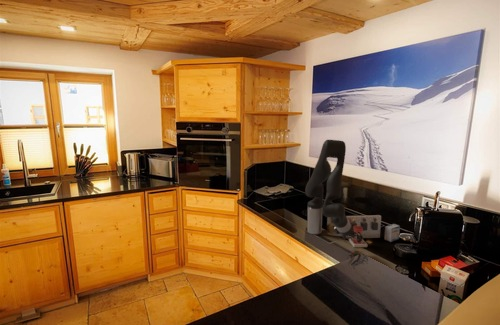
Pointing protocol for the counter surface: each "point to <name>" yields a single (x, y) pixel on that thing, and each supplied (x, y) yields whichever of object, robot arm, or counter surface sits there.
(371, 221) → the breaker panel
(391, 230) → the medicine box
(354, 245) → the lockout socket
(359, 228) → the cap
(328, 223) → the coffee box
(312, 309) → the counter surface
